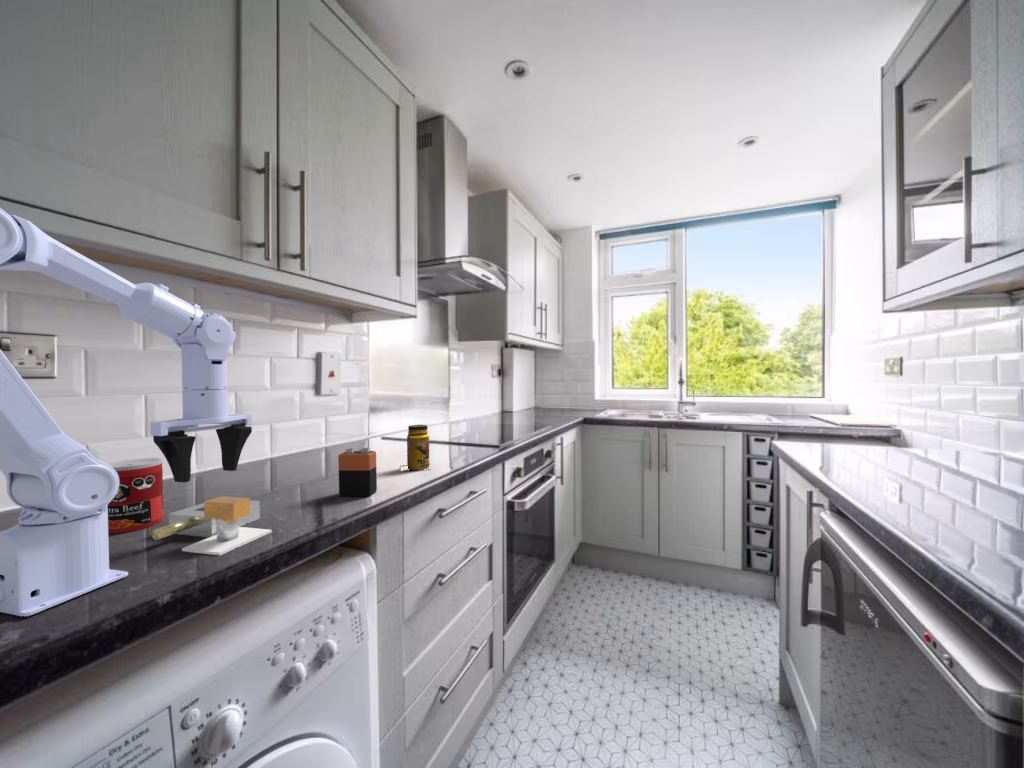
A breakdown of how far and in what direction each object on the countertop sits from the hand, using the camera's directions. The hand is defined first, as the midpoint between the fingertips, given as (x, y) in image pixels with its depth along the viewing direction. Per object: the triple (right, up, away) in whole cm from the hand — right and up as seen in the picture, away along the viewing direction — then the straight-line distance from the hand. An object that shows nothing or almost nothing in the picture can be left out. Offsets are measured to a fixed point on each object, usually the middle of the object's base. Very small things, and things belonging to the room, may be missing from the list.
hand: (207, 475), depth 64 cm
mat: (+4, -10, -1) cm, 11 cm away
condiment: (+21, -9, +49) cm, 54 cm away
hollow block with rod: (-3, -10, +3) cm, 11 cm away
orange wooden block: (+4, -10, -1) cm, 10 cm away
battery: (+15, -10, +24) cm, 30 cm away
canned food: (-17, -10, +6) cm, 21 cm away
